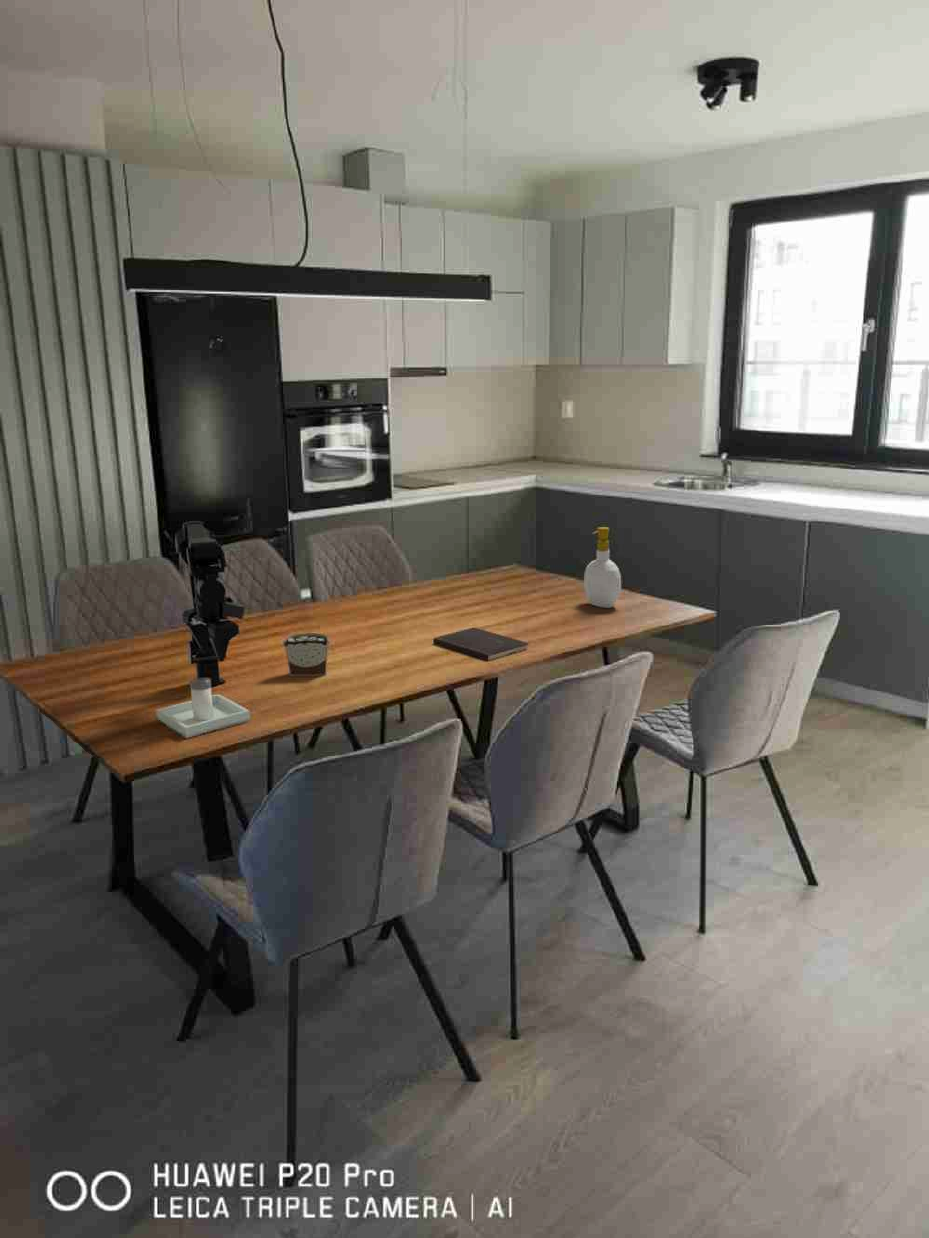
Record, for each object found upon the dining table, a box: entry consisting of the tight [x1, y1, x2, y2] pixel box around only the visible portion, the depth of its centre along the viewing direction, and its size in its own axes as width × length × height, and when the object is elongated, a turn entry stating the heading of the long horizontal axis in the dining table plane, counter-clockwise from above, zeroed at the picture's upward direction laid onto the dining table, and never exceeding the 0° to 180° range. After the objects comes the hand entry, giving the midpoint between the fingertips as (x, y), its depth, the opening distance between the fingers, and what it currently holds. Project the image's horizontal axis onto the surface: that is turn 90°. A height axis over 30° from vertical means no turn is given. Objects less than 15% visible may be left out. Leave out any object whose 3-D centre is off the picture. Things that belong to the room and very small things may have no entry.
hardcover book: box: [432, 627, 530, 662], centre depth 276 cm, size 16×23×2 cm
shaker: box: [189, 677, 213, 721], centre depth 222 cm, size 5×5×9 cm
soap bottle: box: [583, 526, 622, 609], centre depth 314 cm, size 14×9×26 cm, turn 40°
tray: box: [156, 693, 251, 739], centre depth 223 cm, size 16×16×2 cm
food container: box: [282, 632, 331, 677], centre depth 255 cm, size 12×6×10 cm, turn 92°
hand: (213, 656), depth 232 cm, fingers open, 9 cm apart
